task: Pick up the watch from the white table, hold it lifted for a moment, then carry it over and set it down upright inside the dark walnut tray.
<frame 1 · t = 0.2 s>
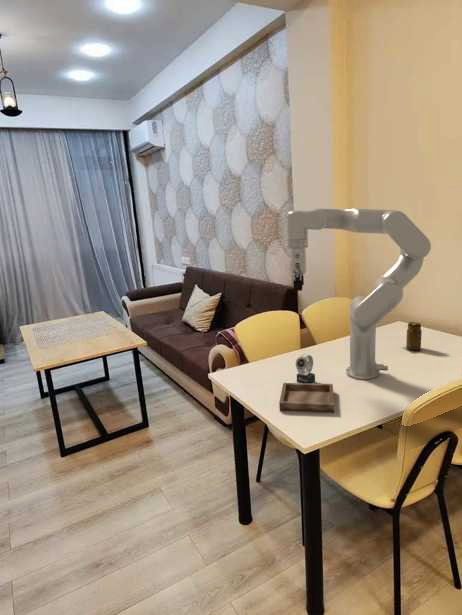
hand: (298, 287, 160), 36 cm above the table, tool pointing down, fingers open, 9 cm apart
condiment: (414, 349, 185), on the table
tray: (307, 400, 145), on the table
watch: (305, 382, 160), on the table
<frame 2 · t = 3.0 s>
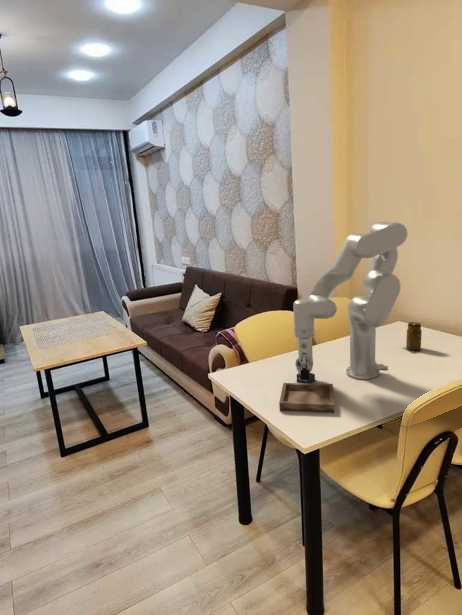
hand: (305, 374, 159), 3 cm above the table, tool pointing down, fingers closed on watch, 8 cm apart
watch: (305, 382, 160), on the table, touching gripper
everything else where it was.
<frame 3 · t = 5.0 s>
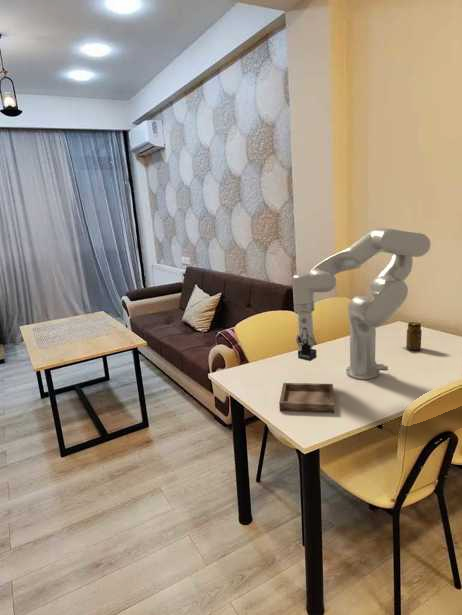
hand: (306, 350, 157), 13 cm above the table, tool pointing down, fingers closed on watch, 8 cm apart
watch: (307, 358, 158), point 10 cm above the table, touching gripper
everything else where it was.
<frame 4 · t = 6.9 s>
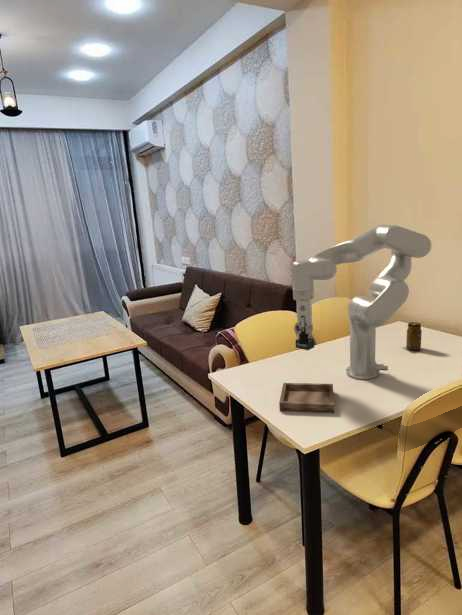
hand: (304, 339, 154), 18 cm above the table, tool pointing down, fingers closed on watch, 8 cm apart
watch: (305, 347, 155), point 15 cm above the table, touching gripper
everything else where it was.
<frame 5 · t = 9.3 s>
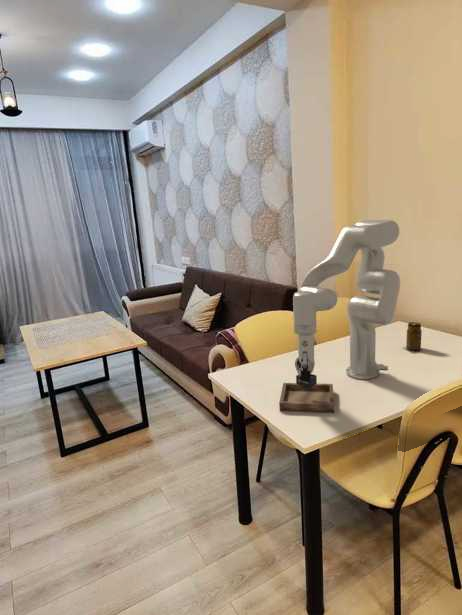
hand: (306, 375, 142), 10 cm above the table, tool pointing down, fingers closed on watch, 8 cm apart
watch: (306, 384, 143), point 6 cm above the table, touching gripper
everything else where it was.
when the fingers open (5 cm above the table, at t = 11.2 s): watch drops 1 cm, resting on tray.
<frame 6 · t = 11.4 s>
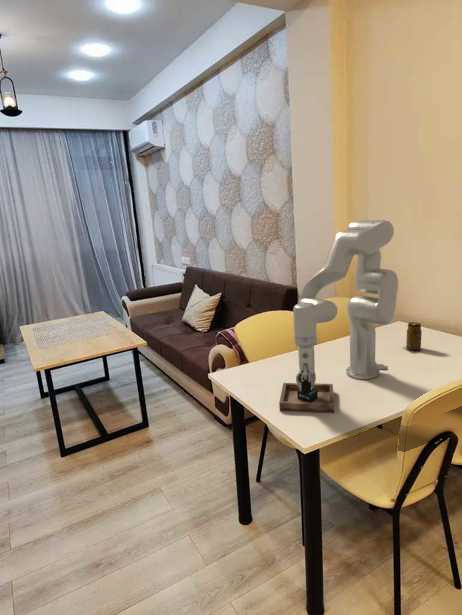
hand: (306, 385, 143), 6 cm above the table, tool pointing down, fingers open, 9 cm apart
watch: (307, 399, 144), point 1 cm above the table, touching tray
everything else where it was.
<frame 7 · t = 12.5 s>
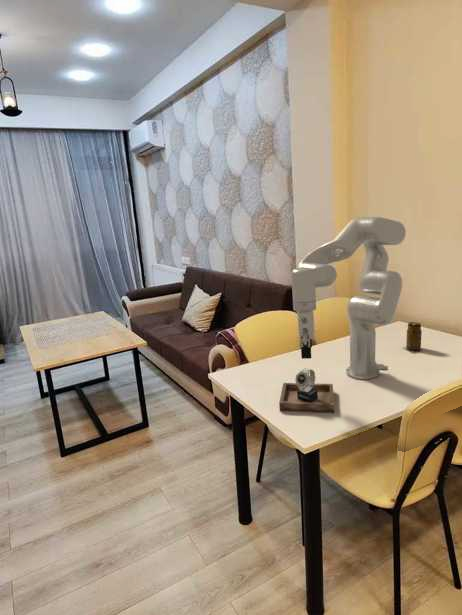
hand: (306, 352, 141), 18 cm above the table, tool pointing down, fingers open, 9 cm apart
nothing on the table moved.
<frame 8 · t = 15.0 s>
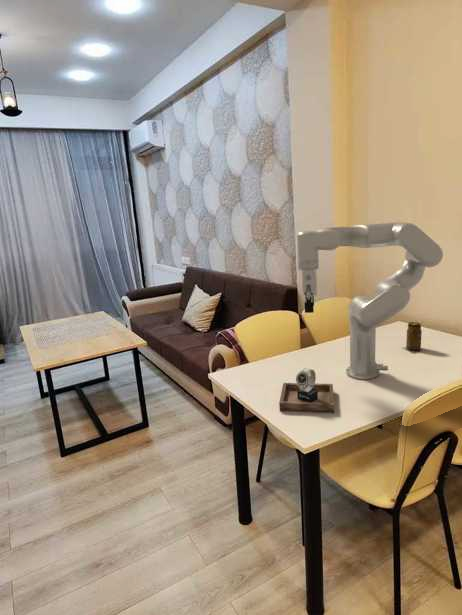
hand: (309, 309, 156), 28 cm above the table, tool pointing down, fingers open, 9 cm apart
nothing on the table moved.
at the end: watch inside the target area on the tray (0.4 cm from its centre), point 0.8 cm above the tray's base; watch tilted 0°; the gripper is holding nothing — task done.
